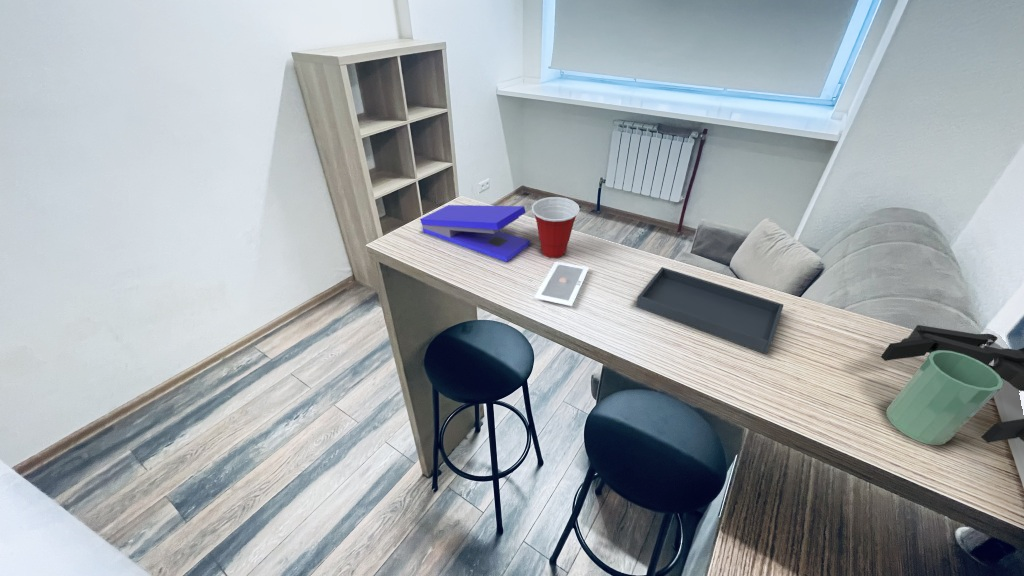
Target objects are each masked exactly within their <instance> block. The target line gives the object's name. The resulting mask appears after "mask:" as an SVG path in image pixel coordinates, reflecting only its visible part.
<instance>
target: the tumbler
mask: <svg viewBox="0 0 1024 576" xmlns="http://www.w3.org/2000/svg"><path fill="white" fill-rule="evenodd" d="M1003 386H1004V381H1003V379H1002V378H1001V377H1000V376H999V375H998V374H997V373H996V372H995V371H994V370H993V369H992V368H990V367H989V366H987V365H985V364H984V363H982V362H980V361H979V360H976V359H974V358H972V357H969V356H967V355H964V354H960V353H957V352H953V351H944V350H938V351H934V352H931V353H929V355H928V356H927V357H926V359H924V361H923V362H922V363H921V364H920V365H919V367H918V369H916V371H915V372H914V374H912V376H911V377H910V379H909V380H908V381H907V383H906V384H904V386H903V387H902V388H901V390H900V391H899V392H898V393H897V395H896V397H894V399H893V400H892V401H891V403H890V404H889V406H887V408H886V411H885V413H886V417H887V419H888V421H889V423H891V425H892V426H894V428H895V429H897V430H898V431H899V432H900V433H902V434H903V435H905V436H906V437H909V438H910V439H912V440H914V441H917V442H919V443H923V444H926V445H930V446H941V445H945V444H946V443H947V442H949V441H951V439H952V438H953V437H955V435H956V434H958V433H959V431H961V429H963V428H964V426H965V425H966V424H967V423H968V422H970V420H971V419H972V418H973V417H974V416H975V415H976V414H977V413H978V412H979V411H981V409H982V408H983V407H985V405H986V404H988V403H989V401H991V399H993V398H994V396H995V395H996V394H997V393H999V392H1000V390H1001V389H1002V388H1003Z"/></svg>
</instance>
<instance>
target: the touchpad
mask: <svg viewBox="0 0 1024 576" xmlns="http://www.w3.org/2000/svg"><path fill="white" fill-rule="evenodd" d="M589 270H590V267H588V266H583V265H578V264H577V265H576V264H573V263H567V262H562V261H558V260H557V261H554V263H553V265H552V266H551V268H550V270H549V271H548V273H547V274H546V276H545V278H544V280H542V283H541V285H540V286H539V288H538V290H537V291H536V293H535V295H534V296H533V298H534V299H537V300H541V301H546V302H551V303H556V304H560V305H565V306H568V307H573V304H574V302H575V300H576V297H577V296H578V294H579V292H580V290H581V287H582V285H583V282H584V280H585V278H586V276H587V273H588V272H589Z"/></svg>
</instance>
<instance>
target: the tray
mask: <svg viewBox="0 0 1024 576" xmlns="http://www.w3.org/2000/svg"><path fill="white" fill-rule="evenodd" d="M635 307H636V308H638V309H641V310H644V311H647V312H650V313H652V314H655V315H657V316H660V317H663V318H666V319H669V320H671V321H674V322H676V323H680V324H682V325H685V326H687V327H689V328H693V329H695V330H699V331H701V332H704V333H706V334H710V335H712V336H715V337H718V338H720V339H723V340H725V341H728V342H731V343H734V344H736V345H739V346H742V347H744V348H747V349H750V350H752V351H756V352H759V353H761V354H764V355H768V352H769V350H770V348H771V346H772V344H773V341H774V338H775V335H776V330H777V327H778V325H779V321H780V318H781V314H782V312H783V308H784V304H783V303H780V302H777V301H773V300H771V299H767V298H764V297H761V296H757V295H755V294H750V293H749V292H748V293H747V292H744V291H742V290H738V289H735V288H732V287H729V286H725V285H722V284H718V283H715V282H711V281H708V280H705V279H702V278H699V277H695V276H693V275H689V274H686V273H682V272H679V271H676V270H673V269H669V268H666V267H664V266H662V267H660V269H659V270H658V271H657V272H656V274H655V275H654V276H653V277H652V279H651V280H650V281H649V282H648V283H647V285H646V286H645V287H644V289H643V290H642V291H641V292H640V293H639V295H637V300H636V306H635Z"/></svg>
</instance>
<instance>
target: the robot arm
mask: <svg viewBox="0 0 1024 576" xmlns="http://www.w3.org/2000/svg"><path fill="white" fill-rule="evenodd" d="M998 338H999V337H997V336H996V335H995V334H992V333H972V332H966V331H960V330H953V329H948V328H941V327H935V326H928V325H921V324H916V326H915V327H914V329H913V330H912V331H911V332H910V334H909V336H908V337H904V338H902V340H901V341H899V342H892V343H891V342H890V343H889V344H888V345H887V347H886V349H885V350H884V351H883V353H882V354H881V356H880V358H881V359H882V360H883V361H885V362H886V361H894V360H901V359H902V360H903V359H909V358H910V359H911V358H916V357H917V358H918V357H923V356H924V357H925V356H926V354H927V353H928V354H930V353H931V352H934V351H938V350H944V351H953V352H957V353H960V354H964V355H967V356H969V357H972V358H974V359H976V360H979V361H980V362H982V363H984V364H985V365H987V366H989V367H990V368H992V369H993V370H994V371H995V372H996V373H997V374H998V375H999V376H1000V377H1001V379H1002V381H1003V380H1004V381H1006V382H1007V383H1009V384H1010V385H1011V386H1012V387H1013V388H1014V389H1016V390H1018V391H1019V392H1024V347H1022V348H1021V347H1020V348H1018V349H1015V348H1008V347H1005V348H1004V347H1002V346H1001V345H1000V344H998V343H997V342H996V341H998ZM992 362H993V364H991V363H992ZM980 438H981V439H982V440H984V442H986V443H996V442H1000V441H1007V440H1012V439H1019V440H1021V441H1022V442H1024V418H1020V419H1019V418H1018V419H1013V420H1007V421H1000V422H995V423H994V424H993V425H992V426H991V427H990V428H989V429H988V430H987V431H986V432H985V433H983V435H981V437H980Z"/></svg>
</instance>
